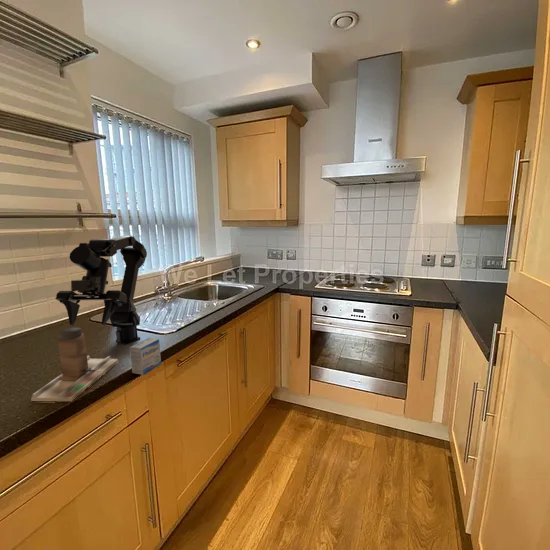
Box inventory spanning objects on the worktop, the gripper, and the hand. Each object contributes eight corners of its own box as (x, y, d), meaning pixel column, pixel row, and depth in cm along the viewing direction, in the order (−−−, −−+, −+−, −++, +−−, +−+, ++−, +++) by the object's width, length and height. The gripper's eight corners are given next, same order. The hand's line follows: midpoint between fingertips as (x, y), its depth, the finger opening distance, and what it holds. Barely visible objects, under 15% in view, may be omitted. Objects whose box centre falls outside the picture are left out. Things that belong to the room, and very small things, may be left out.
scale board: (87, 361, 99) (86, 355, 99) (118, 362, 99) (117, 356, 98) (31, 401, 78) (30, 394, 77) (71, 402, 77) (70, 395, 77)
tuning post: (74, 369, 91) (68, 326, 88) (101, 370, 91) (96, 327, 88) (60, 380, 85) (53, 334, 83) (88, 380, 85) (82, 335, 82)
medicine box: (143, 376, 90) (140, 348, 89) (131, 373, 92) (129, 346, 90) (161, 364, 98) (159, 339, 96) (150, 361, 99) (148, 337, 98)
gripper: (49, 266, 87) (35, 320, 82) (114, 266, 88) (105, 319, 83) (72, 279, 98) (61, 327, 93) (130, 278, 99) (123, 326, 93)
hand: (87, 325), depth 90 cm, fingers open, 9 cm apart
